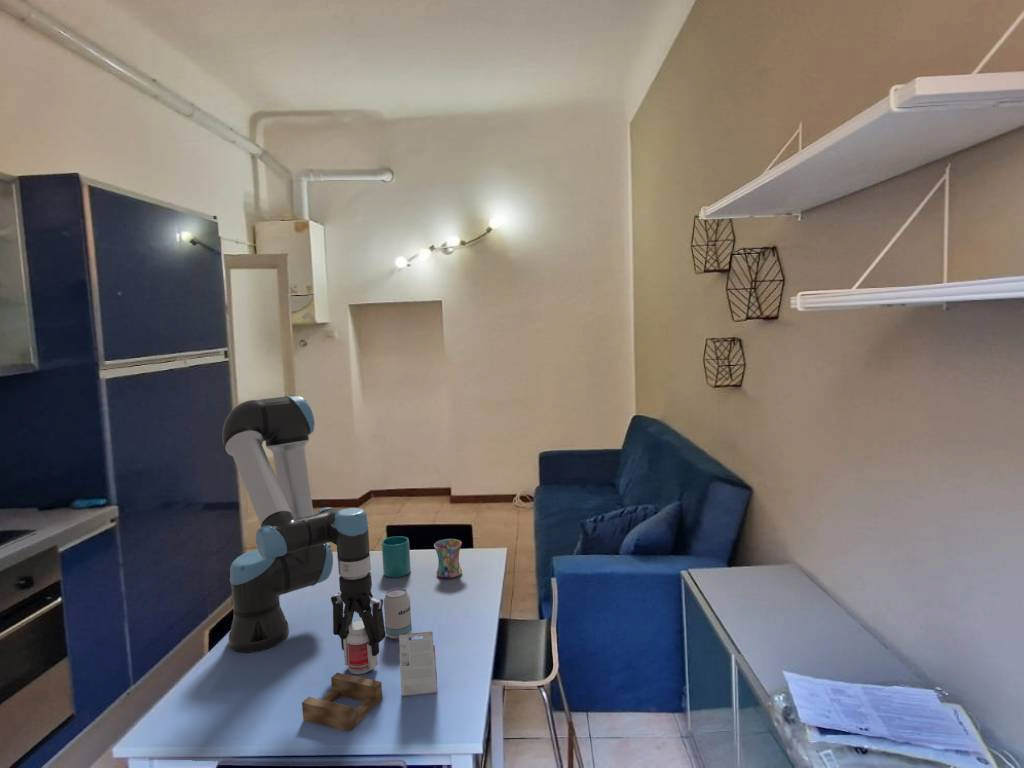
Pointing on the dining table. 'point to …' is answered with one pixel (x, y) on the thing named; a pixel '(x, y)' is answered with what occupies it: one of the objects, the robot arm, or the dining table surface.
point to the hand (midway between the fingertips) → (361, 664)
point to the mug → (448, 557)
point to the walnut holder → (338, 713)
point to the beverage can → (397, 613)
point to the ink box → (417, 664)
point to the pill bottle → (357, 648)
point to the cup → (396, 556)
